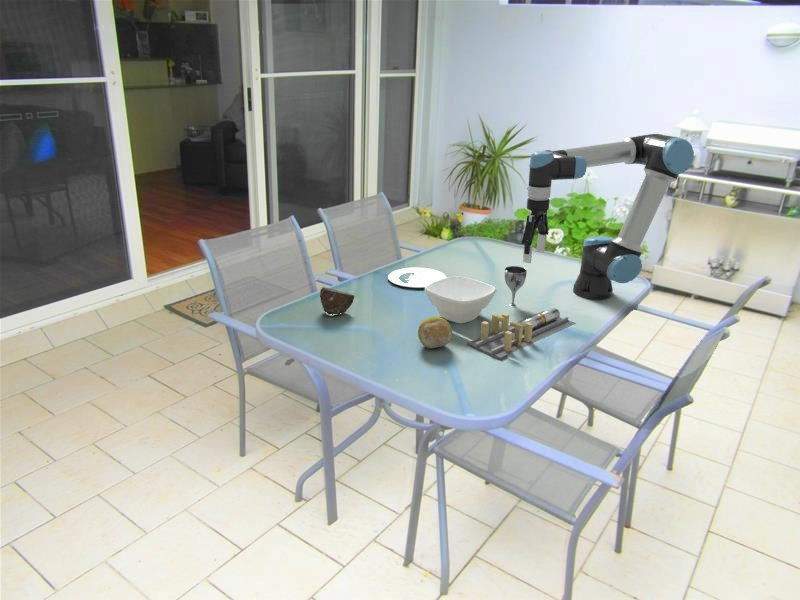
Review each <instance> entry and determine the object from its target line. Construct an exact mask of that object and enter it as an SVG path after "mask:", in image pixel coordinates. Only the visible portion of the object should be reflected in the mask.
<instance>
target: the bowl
mask: <svg viewBox="0 0 800 600" xmlns="http://www.w3.org/2000/svg"><path fill="white" fill-rule="evenodd" d="M423 289H424V292H425V294H426V295H427V297H428V300H429V301H430V304H431V305H433V306H434V307H435V308H436V311H437V312H438V314H439V316H440V317H441V318H443V319H445V320H446V321H450V322H453V323H457V324H465V323H468V322H472V321H474V320H476V319H477V318H478V317H479V316H480V314H481V312H482V311H483V309H485V308H487V307H488V306H489V304H490V303H491V301H492V299H493V298H494V296H495V294H496V293H497V288H496V287H494V286H493V285H491V284H490V283H489V284H488V283H486V282H483V281H481V280H477V279H474V278H470V277H467V276H466V277H465V276H461V275H456V276H449V277H447V278H444V279H441V280H438V281H435V282H433V283H431V284H429V285H427V286H426V287H425V288H423Z"/></svg>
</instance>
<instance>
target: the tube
mask: <svg viewBox="0 0 800 600" xmlns="http://www.w3.org/2000/svg"><path fill="white" fill-rule="evenodd" d="M560 316H561V313H560V311H559V310H558V308H553V307H552V308H551V309H549V310H547V311H544V313H541V314H539V315H536V316H534V317H532V318H529V319H527V320H524V321H522V322H520V324H522V325H523V333H525V323H528V322H529V323H532V324H533V328H532V330H533V329H536V328H538V327H540V326H543V325H545V324H547V323H549V322H552V321H554V320H556V319H558V318H559V317H560Z"/></svg>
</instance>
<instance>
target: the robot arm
mask: <svg viewBox="0 0 800 600" xmlns="http://www.w3.org/2000/svg"><path fill="white" fill-rule="evenodd" d="M694 158H695V152H694V149H693V146H692V143H691V142H689V140H687V139H684V138H681V137H677V136H672V135H666V134H661V133H649V134H643V135H637V136H632V137H625V138H623V140H622V141H616V142H610V143H602V144H595V145H594V144H593V145H589V146H580V147H573V148H565V149H559V150H558V149H557V150H550V149H543V150H539V151H534V152H532V153H531V154H530V160H529V164H528V165H529V166H528V167H529V173H528V186H527V188H526V190H527V197H528V198H527V200H526V209H527V210H528V211H530V215H528V214H527V216H526V222H525V226H524V231H523V235H522V240H521V245H523V254H522V257H523V258H522V262H523V263H526V264H532V259H533V258H532V257H533V255H532V254H533V244H532V243H533V241H534V237H535V234H536V231H538V234H537V239H536V240H537V241H536V243H537V244H536V250H535V251H536V253H541V254H544V253H545V248H546V239H547V238H546V237H547V235H549V223H548V222H549V221H548V210H549V209H550V198H551V193H552V192H551V190H552V181H559V180H562V181H563V180H575V179H577V180H578V179H581V178H583V177H584V176H585V175H586V172H587V168H592V167H599V166H606V165H607V166H608V165H614V164H615V165H616V164H622V163H624V164H625V165H634V164H635V165H637V164H638V165H641V166H642V165H644V168H643V170H644V173H645V176H644V179H643V181H642V183H641V185H640V188H639V189H638V192H637V194H636V197H635V198H634V200H633V203H632V205H631V207H630V210H629V211H628V214H627V216H626V218H625V220H624V222H623V225H622V227H621V228H620V231H619V233H618V234H617V237H610V236H605V235H604V236H603V235H599V236H598V235H597V236H593V235H592V236H588V237H586V238H585V239H584V241H583V245H582V253H581V259H580V260H581V262H580V270H579V273H578V276H577V277H576V280H575V282H574V284H573V290H572V291H573V293H574V294H575V295H577V296H578V297H581V298H584V299H589V300H606V299H607V300H608V299H609V298H611V297H612V296H613V290H614V289H613V285H612V281H614V282H616V283H617V284H627V283H630V282H632V281H633V280H635V279H636V278H637V277H638V276H639V275H640V273H641V271H642V270H643V269H642V268H643V264H642V260H641V255H642V253H643V249H642V247H641V245H642V243H643V242H644V240H645V237H646V235H647V233H648V231H649V229H650V226H651V224H652V222H653V220H654V218H655V216H656V213H657V211H658V209H659V207H660V206H661V203H662V201H663V199H664V197H665V194H666V193H667V190H668V188H669V186H670V184H672V183H674V182H675V181H677V180H678V177H679V176H680V175H681V174H684V173H685V172H686V171H688V170H689V169H690V168H691V166H692V165H693V162H694Z"/></svg>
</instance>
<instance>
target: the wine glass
mask: <svg viewBox="0 0 800 600" xmlns="http://www.w3.org/2000/svg"><path fill="white" fill-rule="evenodd" d="M527 272H528V269H527V268H525V267H523V266H519V265H511V266H507V267H505V268H504V282H505V284H506V286H507V287H508V289H509V290H510V292H511V299H512V300H511V303H510V304H509V306H510V307H516V306H517V305H516V304H515V297H516V293H517V292H518V291H519V290H520V289H521V288H522V287H523V286H524V285H525V283H526V278H527Z"/></svg>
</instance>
